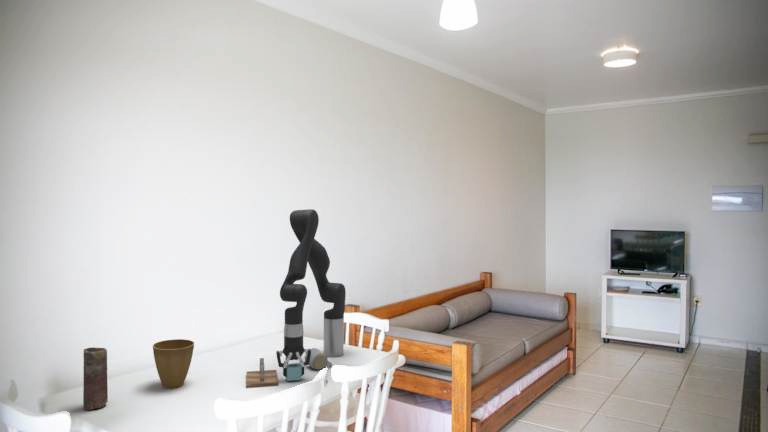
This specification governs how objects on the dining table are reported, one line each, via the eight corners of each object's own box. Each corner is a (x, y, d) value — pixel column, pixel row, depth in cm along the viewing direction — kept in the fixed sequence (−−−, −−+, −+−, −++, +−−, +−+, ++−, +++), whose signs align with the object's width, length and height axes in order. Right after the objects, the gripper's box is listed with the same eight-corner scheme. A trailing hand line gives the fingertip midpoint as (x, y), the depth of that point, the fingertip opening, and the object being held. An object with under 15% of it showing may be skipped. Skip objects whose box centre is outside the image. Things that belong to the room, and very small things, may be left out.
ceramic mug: (313, 372, 224) (313, 353, 224) (304, 366, 231) (304, 349, 231) (335, 368, 231) (335, 350, 230) (326, 363, 237) (326, 345, 237)
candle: (89, 402, 189) (89, 345, 188) (111, 402, 189) (111, 345, 189) (79, 411, 181) (78, 352, 180) (102, 410, 182) (101, 351, 181)
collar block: (286, 376, 216) (286, 363, 216) (300, 375, 218) (300, 362, 217) (287, 380, 211) (287, 368, 211) (301, 379, 212) (301, 367, 212)
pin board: (246, 374, 220) (246, 357, 220) (276, 372, 223) (276, 355, 223) (246, 387, 205) (246, 369, 205) (278, 385, 208) (278, 366, 208)
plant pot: (154, 394, 197) (154, 351, 197) (151, 382, 210) (151, 341, 210) (197, 388, 204) (197, 346, 203) (191, 376, 217) (191, 337, 217)
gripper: (310, 330, 219) (310, 371, 220) (274, 332, 216) (274, 374, 216) (312, 335, 212) (312, 378, 212) (275, 337, 208) (275, 380, 209)
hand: (293, 376), depth 214 cm, fingers closed on collar block, 5 cm apart
